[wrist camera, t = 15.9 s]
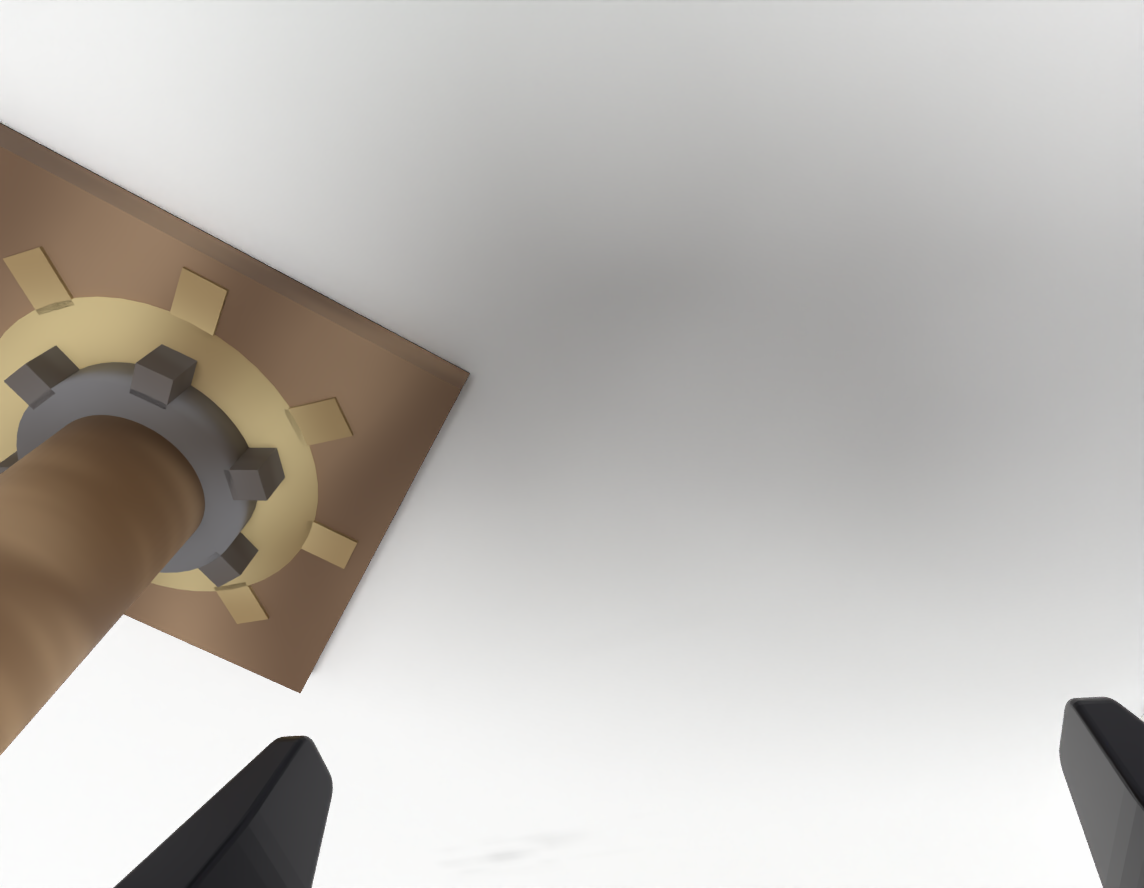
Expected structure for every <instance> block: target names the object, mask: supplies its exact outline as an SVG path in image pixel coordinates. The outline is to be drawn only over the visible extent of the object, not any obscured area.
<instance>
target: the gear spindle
mask: <svg viewBox="0 0 1144 888" xmlns="http://www.w3.org/2000/svg"><path fill="white" fill-rule="evenodd" d="M196 364H197V360H194V359H192V358H190V357H188V356H186V355H184V354H182V353H180V352H178V351H175V350H173V349H171V348H169V347H167V346H165V345H163V344H161V345H160V346H158V347H157V348H156V349H154V350H153V351H151V352H150V353H149V354H147V355H146V356H145V357H143V358H142V359H140V360H139V361H138V362H136V364H133V363H123V362H109V363H100V364H95V365H91V366H87V367H85V368H82V369H79V368H78V367H77V366H76V365H75V364H74V363H73V362H72V361H71V360H70V359H69V358H68V357H67V356H66V355H65V354H64V353H63V352H62V351H61V350H60V349H59V348H58V347H57V346H54V347H52V348H51V349H49V350H47V351H46V352H44V353H42V354H41V355H39V356H37V357H36V358H34V359H32V360H31V361H29V362H27V363H26V364H24V365H23V366H22V367H20V368H19V369H18V370H17V371H15V372H14V373H13V374H12V375H10V376H9V377H8V378H7V379H5V380H4V382H5V383H6V384H7V385H8V386H9V387H10V388H11V389H12V390H13V391H14V392H15V393H16V394H17V395H18V396H19V397H21V398H22V399H23V400H24V401H25V402H26V403H27V404H28V405H29V406H28V408H27V409H26V410H25V412H24V413H23V416H22V418H21V420H20V423H19V427H18V431H17V444H16V446H17V451H16V452H15V453H13V454H12V455H10V456H9V457H8V458H6V459H5V460H3V461H2V462H1V463H0V755H1V754H2V753H3V752H4V751H5V749H6V748H7V747H8V746H9V745H10V744H11V743H12V741H13V740H14V739H15V738H16V737H17V736H18V734H19V733H20V732H21V731H22V730H23V729H24V728H25V726H26V725H27V724H28V723H29V722H30V721H31V720H32V718H33V717H34V716H35V715H36V714H37V713H38V711H39V710H40V709H41V708H42V707H43V706H44V705H45V703H46V702H47V701H48V700H49V699H50V698H51V697H52V695H53V694H54V693H55V692H56V691H57V690H58V688H59V687H60V686H61V685H62V684H63V683H64V682H65V680H66V679H67V678H68V677H69V676H70V675H71V674H72V672H73V671H74V670H75V669H76V668H77V667H78V665H79V664H80V663H81V662H82V661H83V660H84V659H85V657H86V656H87V655H88V654H89V653H90V652H91V651H92V649H93V648H94V647H95V646H96V645H97V644H98V642H99V641H100V640H101V639H102V638H103V637H104V636H105V634H106V633H107V632H108V631H109V630H110V629H111V628H112V626H113V625H114V624H115V623H116V622H117V621H118V619H119V618H120V617H121V616H122V615H123V614H124V613H125V611H126V610H127V609H128V608H129V607H130V606H131V605H132V603H133V602H134V601H135V600H136V599H137V598H138V596H139V595H140V594H141V593H142V592H143V591H144V590H145V588H146V587H147V586H148V585H149V584H150V583H151V582H152V580H153V579H154V578H155V577H156V576H157V575H158V573H159V572H160V573H177V572H184V571H190V570H194V569H197V568H198V569H199V570H200V571H201V572H202V573H203V574H204V575H206V576H207V577H208V578H209V579H210V580H211V581H212V582H213V583H214V584H215V585H216V586H217V587H220V586H222V585H224V584H226V583H227V582H229V581H231V580H233V579H235V578H237V577H239V576H240V575H241V574H242V573H243V571H244V570H245V569H246V567H247V566H248V564H249V563H250V562H251V560H252V559H253V558H254V556H255V555H256V554H257V552H258V551H259V550H258V549H257V548H256V547H255V546H254V545H253V544H252V543H251V542H250V541H249V540H248V539H247V538H246V537H245V536H244V535H243V534H242V533H241V530H242V529H243V528H244V527H245V525H246V524H247V523H248V521H249V520H250V518H251V517H252V514H253V512H254V510H255V508H256V504H257V501H267V500H268V499H269V498H270V496H271V495H272V494H273V492H274V491H275V490H276V489H277V487H278V486H279V485H280V483H281V482H282V481H283V480H284V478H285V475H284V471H283V468H282V464H281V461H280V457H279V454H278V450H277V448H249V447H248V445H247V443H246V441H245V439H244V437H243V436H242V434H241V433H240V431H239V430H238V428H237V427H236V425H235V424H234V423H233V422H232V421H231V419H230V418H229V417H228V416H227V415H226V413H225V412H224V411H223V410H222V409H221V408H219V407H218V406H217V405H216V404H215V403H214V402H213V401H212V400H211V399H209V398H208V397H207V396H206V395H204V394H203V393H202V392H200V391H199V390H197V389H196V388H194V387H193V386H191V383H192V379H193V376H194V372H195V368H196Z"/></svg>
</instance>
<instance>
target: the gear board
mask: <svg viewBox="0 0 1144 888" xmlns="http://www.w3.org/2000/svg"><path fill="white" fill-rule="evenodd" d="M161 344H163V345H165V346H167V347H169V348H171V349H173V350H175V351H178V352H180V353H182V354H184V355H186V356H188V357H190V358H192V359H194V360H197V364H196V368H195V372H194V376H193V379H192V383H191V386H193V387H194V388H196V389H197V390H199V391H200V392H202V393H203V394H204V395H206V396H207V397H208V398H209V399H211V400H212V401H213V402H214V403H215V404H216V405H217V406H218V407H219V408H221V409H222V410H223V411H224V412H225V413H226V415H227V416H228V417H229V418H230V419H231V421H232V422H233V423H234V424H235V425H236V427H237V428H238V430H239V431H240V433H241V434H242V436H243V437H244V439H245V441H246V443H247V445H248V447H249V448H277V450H278V454H279V457H280V461H281V464H282V468H283V471H284V475H285V478H284V480H283V481H282V482H281V483H280V485H279V486H278V487H277V489H276V490H275V491H274V492H273V494H272V495H271V496H270V498H269V499H268V500H267V501H257V504H256V508H255V510H254V512H253V514H252V517H251V518H250V520H249V521H248V523H247V524H246V525H245V527H244V528H243V529H242V530H241V533H242V534H243V535H244V536H245V537H246V538H247V539H248V540H249V541H250V542H251V543H252V544H253V545H254V546H255V547H256V548H257V549H258V550H259V551H258V552H257V554H256V555H255V556H254V558H253V559H252V560H251V562H250V563H249V564H248V566H247V567H246V569H245V570H244V571H243V573H242V574H241V575H240V576H239V577H237V578H235V579H233V580H231V581H229V582H227V583H226V584H224V585H222V586H220V587H217V586H216V585H215V584H214V583H213V582H212V581H211V580H210V579H209V578H208V577H207V576H206V575H204V574H203V573H202V572H201V571H200V570H199V569H198V568H197V569H194V570H190V571H184V572H177V573H160V572H159V573H158V575H157V576H156V577H155V578H154V579H153V580H152V582H151V583H150V584H149V585H148V586H147V587H146V588H145V590H144V591H143V592H142V593H141V594H140V595H139V596H138V598H137V599H136V600H135V601H134V602H133V603H132V605H131V606H130V607H129V608H128V609H127V610H126V611H125V613H124V615H127V616H129V617H131V618H133V619H136V620H138V621H140V622H142V623H144V624H147V625H149V626H151V627H153V628H156V629H158V630H160V631H162V632H165V633H167V634H169V635H171V636H174V637H176V638H178V639H180V640H182V641H185V642H187V643H189V644H191V645H194V646H196V647H198V648H200V649H203V650H205V651H207V652H209V653H211V654H214V655H216V656H218V657H220V658H223V659H225V660H227V661H229V662H232V663H234V664H236V665H238V666H240V667H243V668H245V669H247V670H249V671H252V672H254V673H256V674H258V675H261V676H263V677H265V678H267V679H270V680H272V681H274V682H276V683H278V684H281V685H283V686H285V687H287V688H290V689H292V690H294V691H296V692H299V693H301V691H302V689H303V687H304V685H305V683H306V682H307V680H308V678H309V676H310V674H311V672H312V670H313V668H314V666H315V665H316V663H317V661H318V659H319V657H320V655H321V653H322V651H323V649H324V648H325V646H326V644H327V642H328V640H329V638H330V636H331V634H332V633H333V631H334V629H335V627H336V625H337V623H338V621H339V619H340V617H341V616H342V614H343V612H344V610H345V608H346V606H347V604H348V602H349V600H350V599H351V597H352V595H353V593H354V591H355V589H356V587H357V585H358V584H359V582H360V580H361V578H362V576H363V574H364V572H365V570H366V568H367V567H368V565H369V563H370V561H371V559H372V557H373V555H374V553H375V551H376V550H377V548H378V546H379V544H380V542H381V540H382V538H383V536H384V535H385V533H386V531H387V529H388V527H389V525H390V523H391V521H392V519H393V518H394V516H395V514H396V512H397V510H398V508H399V506H400V504H401V502H402V501H403V499H404V497H405V495H406V493H407V491H408V489H409V487H410V486H411V484H412V482H413V480H414V478H415V476H416V474H417V472H418V470H419V469H420V467H421V465H422V463H423V461H424V459H425V457H426V455H427V453H428V452H429V450H430V448H431V446H432V444H433V442H434V440H435V438H436V437H437V435H438V433H439V431H440V429H441V427H442V425H443V423H444V421H445V420H446V418H447V416H448V414H449V412H450V410H451V408H452V406H453V404H454V403H455V401H456V399H457V397H458V395H459V393H460V391H461V389H462V387H463V386H464V384H465V382H466V380H467V378H468V376H469V374H470V373H468V372H466V371H464V370H462V369H460V368H458V367H457V366H455V365H453V364H451V363H449V362H447V361H445V360H443V359H442V358H440V357H438V356H436V355H434V354H432V353H430V352H428V351H427V350H425V349H423V348H421V347H419V346H417V345H415V344H413V343H412V342H410V341H408V340H406V339H404V338H402V337H400V336H398V335H397V334H395V333H393V332H391V331H389V330H387V329H385V328H383V327H382V326H380V325H378V324H376V323H374V322H372V321H370V320H368V319H367V318H365V317H363V316H361V315H359V314H357V313H355V312H353V311H352V310H350V309H348V308H346V307H344V306H342V305H340V304H338V303H337V302H335V301H333V300H331V299H329V298H327V297H325V296H323V295H322V294H320V293H318V292H316V291H314V290H312V289H310V288H308V287H306V286H305V285H303V284H301V283H299V282H297V281H295V280H293V279H291V278H290V277H288V276H286V275H284V274H282V273H280V272H278V271H276V270H275V269H273V268H271V267H269V266H267V265H265V264H263V263H261V262H260V261H258V260H256V259H254V258H252V257H250V256H248V255H246V254H245V253H243V252H241V251H239V250H237V249H235V248H233V247H231V246H230V245H228V244H226V243H224V242H222V241H220V240H218V239H216V238H215V237H213V236H211V235H209V234H207V233H205V232H203V231H201V230H200V229H198V228H196V227H194V226H192V225H190V224H188V223H186V222H185V221H183V220H181V219H179V218H177V217H175V216H173V215H171V214H170V213H168V212H166V211H164V210H162V209H160V208H158V207H156V206H155V205H153V204H151V203H149V202H147V201H145V200H143V199H141V198H140V197H138V196H136V195H134V194H132V193H130V192H128V191H126V190H125V189H123V188H121V187H119V186H117V185H115V184H113V183H111V182H110V181H108V180H106V179H104V178H102V177H100V176H98V175H96V174H95V173H93V172H91V171H89V170H87V169H85V168H83V167H81V166H80V165H78V164H76V163H74V162H72V161H70V160H68V159H66V158H65V157H63V156H61V155H59V154H57V153H55V152H53V151H51V150H49V149H48V148H46V147H44V146H42V145H40V144H38V143H36V142H34V141H33V140H31V139H29V138H27V137H25V136H23V135H21V134H19V133H18V132H16V131H14V130H12V129H10V128H8V127H6V126H4V125H3V124H1V123H0V463H1V462H2V461H3V460H5V459H6V458H8V457H9V456H10V455H12V454H13V453H15V452H16V451H17V446H16V444H17V431H18V427H19V423H20V420H21V418H22V416H23V413H24V412H25V410H26V409H27V408H28V406H29V405H28V404H27V403H26V402H25V401H24V400H23V399H22V398H21V397H19V396H18V395H17V394H16V393H15V392H14V391H13V390H12V389H11V388H10V387H9V386H8V385H7V384H6V383H5V382H4V380H5V379H7V378H8V377H9V376H10V375H12V374H13V373H14V372H15V371H17V370H18V369H19V368H20V367H22V366H23V365H24V364H26V363H27V362H29V361H31V360H32V359H34V358H36V357H37V356H39V355H41V354H42V353H44V352H46V351H47V350H49V349H51V348H52V347H54V346H57V347H58V348H59V349H60V350H61V351H62V352H63V353H64V354H65V355H66V356H67V357H68V358H69V359H70V360H71V361H72V362H73V363H74V364H75V365H76V366H77V367H78V368H79V369H82V368H85V367H87V366H91V365H95V364H100V363H109V362H123V363H133V364H136V362H138V361H139V360H140V359H142V358H143V357H145V356H146V355H147V354H149V353H150V352H151V351H153V350H154V349H156V348H157V347H158V346H160V345H161Z"/></svg>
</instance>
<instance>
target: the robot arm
mask: <svg viewBox="0 0 1144 888" xmlns="http://www.w3.org/2000/svg"><path fill="white" fill-rule="evenodd" d="M1059 753H1060V762H1061V766H1062V770H1063V773H1064V776H1065V779H1066V782H1067V785H1068V788H1069V791H1070V793H1071V796H1072V799H1073V802H1074V805H1075V808H1076V811H1077V814H1078V816H1079V819H1080V822H1081V825H1082V828H1083V831H1084V834H1085V837H1086V840H1087V842H1088V845H1089V848H1090V851H1091V854H1092V857H1093V860H1094V863H1095V866H1096V868H1097V871H1098V874H1099V877H1100V880H1101V883H1102V886H1103V888H1144V722H1143V721H1142V720H1140V719H1139V718H1138V717H1136V716H1135V715H1134V714H1133V713H1131V712H1130V711H1129V710H1127V709H1126V708H1125V707H1123V706H1122V705H1121V704H1120V703H1118V702H1117V701H1115V700H1113V699H1111V698H1108V697H1089V698H1073V699H1070V700H1069V701H1068V702H1067V703H1066V706H1065V710H1064V718H1063V725H1062V733H1061V740H1060V748H1059ZM332 790H333V785H332V778H331V775H330V773H329V771H328V769H327V767H326V765H325V763H324V761H323V759H322V757H321V755H320V753H319V751H318V750H317V748H316V746H315V744H314V742H313V741H312V739H310V738H309V737H307V736H287V737H280V738H278V739H276V740H274V741H273V742H272V743H271V744H269V745H268V746H267V747H266V748H265V749H264V750H263V751H262V752H261V753H260V754H259V755H258V756H256V757H255V758H254V759H253V760H252V761H251V762H250V763H249V764H248V765H247V766H246V767H244V768H243V769H242V770H241V771H240V772H239V773H238V774H237V775H236V776H235V777H234V778H232V779H231V780H230V781H229V782H228V783H227V784H226V785H225V786H224V787H223V788H222V789H221V790H219V791H218V792H217V793H216V794H215V795H214V796H213V797H212V798H211V799H210V800H209V801H207V802H206V803H205V804H204V805H203V806H202V807H201V808H200V809H199V810H198V811H197V812H195V813H194V814H193V815H192V816H191V817H190V818H189V819H188V820H187V821H186V822H185V823H184V824H182V825H181V826H180V827H179V828H178V829H177V830H176V831H175V832H174V833H173V834H172V835H170V836H169V837H168V838H167V839H166V840H165V841H164V842H163V843H162V844H161V845H160V846H158V847H157V848H156V849H155V850H154V851H153V852H152V853H151V854H150V855H149V856H148V857H147V858H145V859H144V860H143V861H142V862H141V863H140V864H139V865H138V866H137V867H136V868H135V869H133V870H132V871H131V872H130V873H129V874H128V875H127V876H126V877H125V878H124V879H123V880H121V881H120V882H119V883H118V884H117V885H116V886H115V887H114V888H312V883H313V879H314V874H315V870H316V865H317V861H318V856H319V852H320V847H321V843H322V838H323V834H324V829H325V825H326V820H327V816H328V811H329V807H330V802H331V798H332Z"/></svg>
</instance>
